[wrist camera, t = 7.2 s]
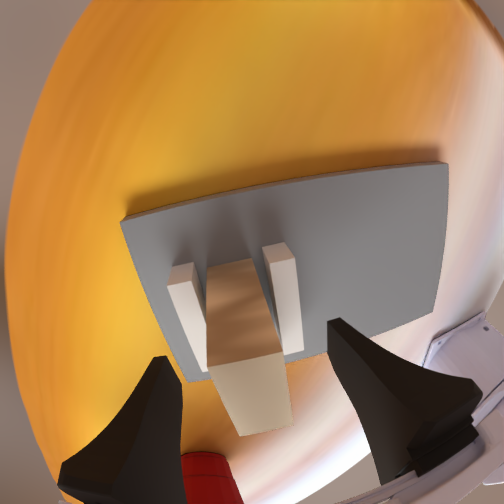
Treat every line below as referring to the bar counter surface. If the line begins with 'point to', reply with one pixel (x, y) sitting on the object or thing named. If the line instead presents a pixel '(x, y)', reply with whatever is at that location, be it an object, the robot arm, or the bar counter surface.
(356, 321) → the clip board
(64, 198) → the bar counter surface
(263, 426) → the wooden block
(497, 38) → the bar counter surface
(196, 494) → the plastic cup
